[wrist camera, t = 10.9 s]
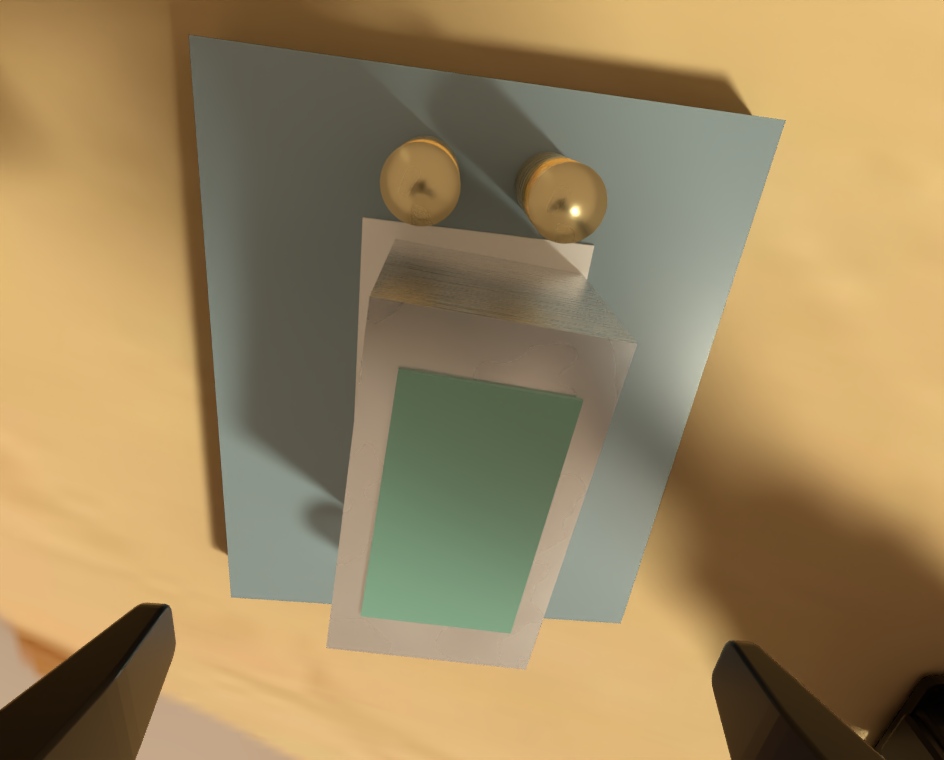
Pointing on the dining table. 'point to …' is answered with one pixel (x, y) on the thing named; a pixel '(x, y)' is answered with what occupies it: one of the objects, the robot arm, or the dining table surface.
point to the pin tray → (459, 228)
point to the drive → (470, 452)
